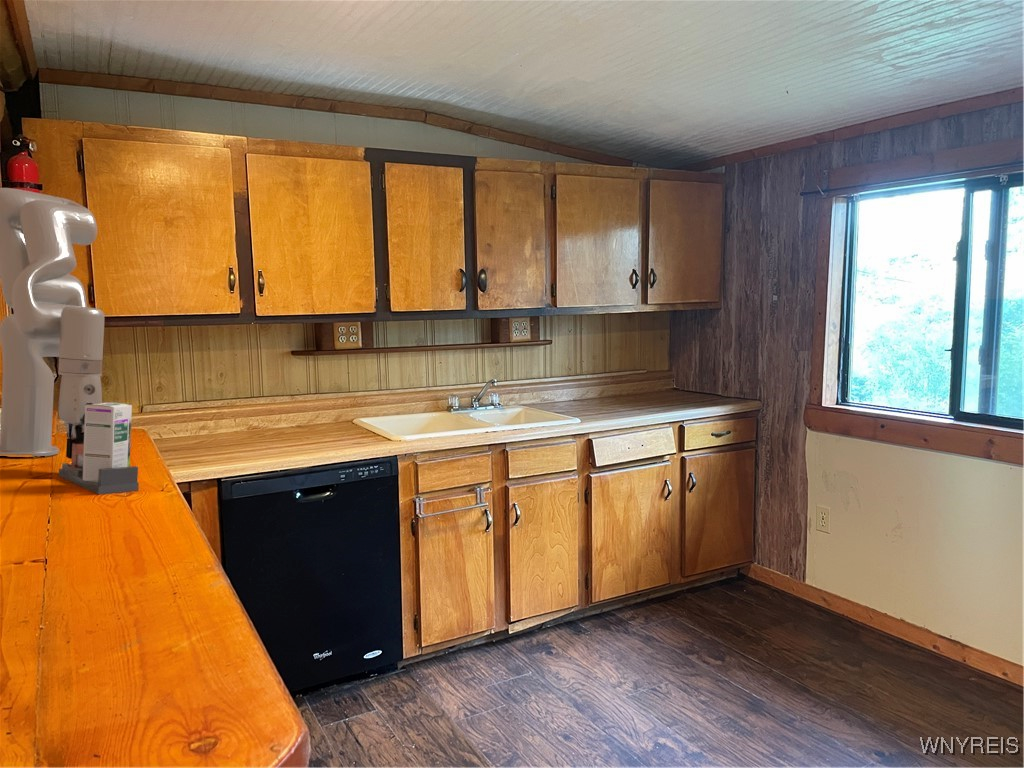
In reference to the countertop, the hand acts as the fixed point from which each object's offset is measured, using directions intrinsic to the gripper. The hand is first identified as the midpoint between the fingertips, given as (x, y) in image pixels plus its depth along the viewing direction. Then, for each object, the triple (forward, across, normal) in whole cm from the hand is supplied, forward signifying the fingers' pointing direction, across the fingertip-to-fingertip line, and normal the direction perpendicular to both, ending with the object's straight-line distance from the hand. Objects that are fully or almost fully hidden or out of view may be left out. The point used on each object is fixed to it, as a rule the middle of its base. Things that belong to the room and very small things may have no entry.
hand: (76, 457), depth 143 cm
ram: (+2, -7, 0) cm, 7 cm away
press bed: (+3, -11, 0) cm, 11 cm away
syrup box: (+2, -15, 0) cm, 15 cm away
